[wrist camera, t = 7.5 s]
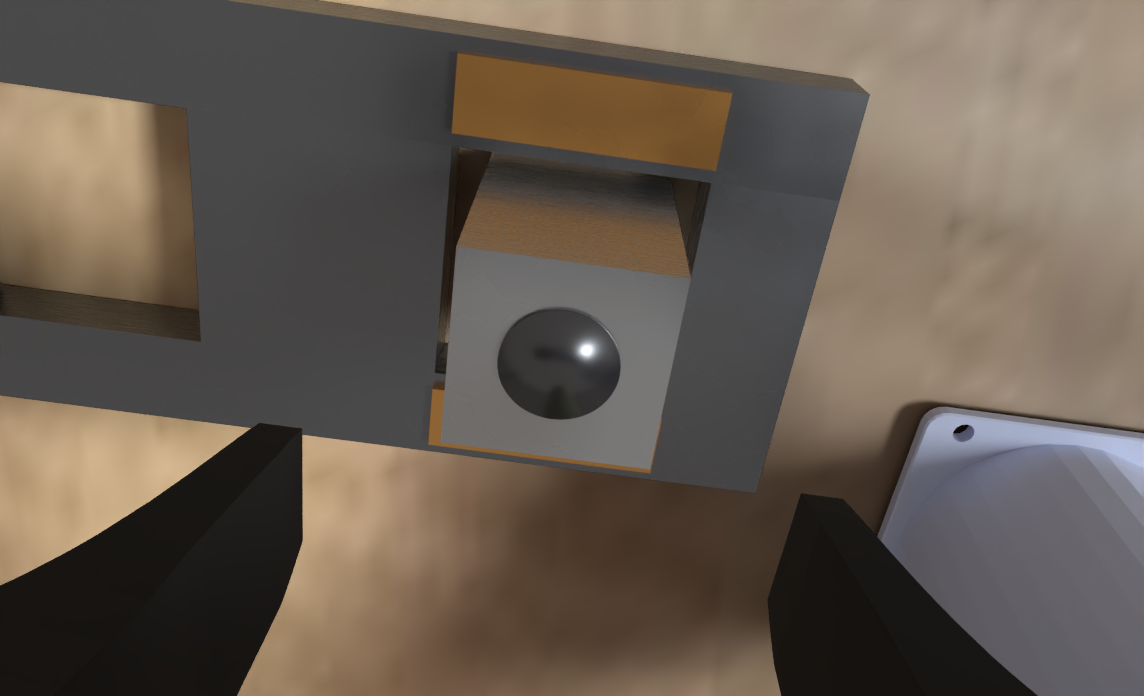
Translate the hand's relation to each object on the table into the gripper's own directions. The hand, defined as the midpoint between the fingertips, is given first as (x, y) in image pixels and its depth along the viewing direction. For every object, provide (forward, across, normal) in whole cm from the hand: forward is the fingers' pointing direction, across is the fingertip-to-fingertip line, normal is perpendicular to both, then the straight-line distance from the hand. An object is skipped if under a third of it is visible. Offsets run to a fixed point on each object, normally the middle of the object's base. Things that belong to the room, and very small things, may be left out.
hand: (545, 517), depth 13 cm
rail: (+10, +6, 0) cm, 11 cm away
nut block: (+10, 0, 0) cm, 10 cm away
